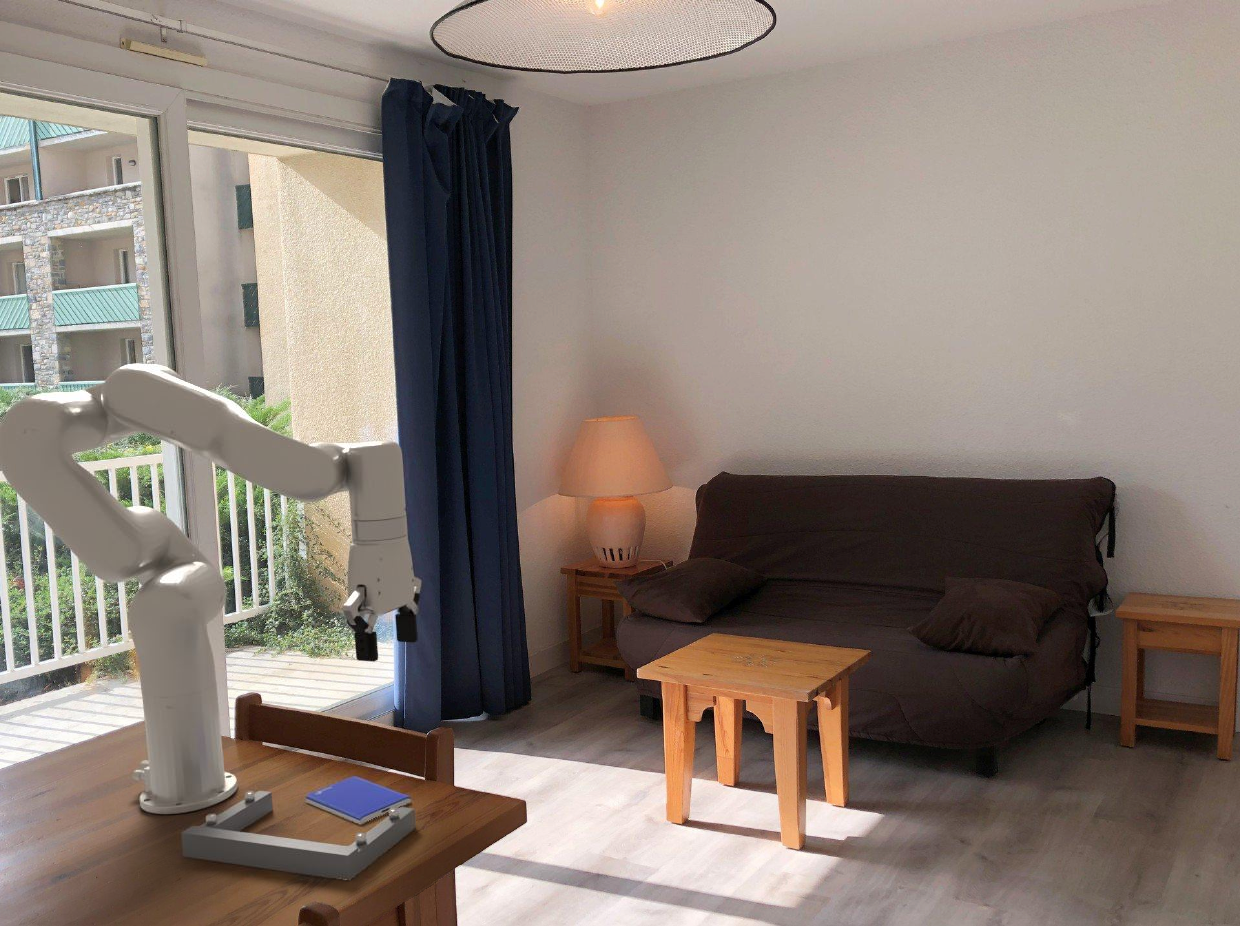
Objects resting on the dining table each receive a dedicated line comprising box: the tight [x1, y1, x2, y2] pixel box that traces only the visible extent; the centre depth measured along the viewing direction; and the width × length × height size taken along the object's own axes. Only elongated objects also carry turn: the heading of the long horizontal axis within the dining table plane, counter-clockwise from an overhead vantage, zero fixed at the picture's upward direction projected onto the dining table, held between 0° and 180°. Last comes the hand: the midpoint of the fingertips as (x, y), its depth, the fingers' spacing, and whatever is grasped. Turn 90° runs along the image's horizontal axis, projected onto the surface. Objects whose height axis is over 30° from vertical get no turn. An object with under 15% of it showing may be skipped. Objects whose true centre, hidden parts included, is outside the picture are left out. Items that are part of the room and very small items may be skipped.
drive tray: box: [180, 790, 416, 881], centre depth 127 cm, size 24×14×4 cm, turn 70°
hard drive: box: [305, 776, 412, 826], centre depth 139 cm, size 2×8×12 cm
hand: (388, 650), depth 145 cm, fingers open, 9 cm apart
